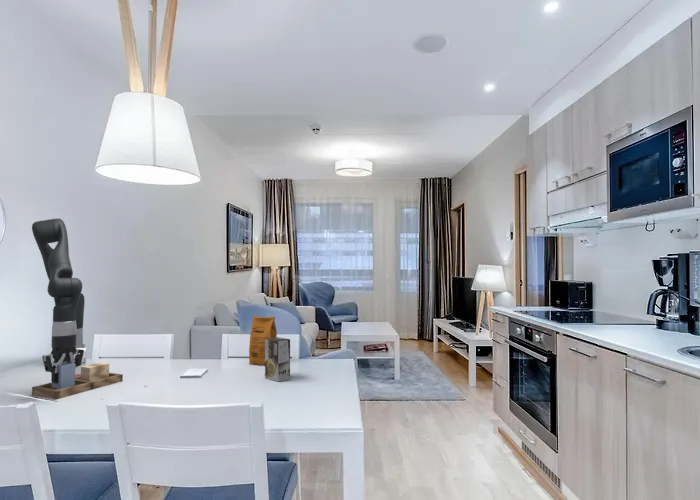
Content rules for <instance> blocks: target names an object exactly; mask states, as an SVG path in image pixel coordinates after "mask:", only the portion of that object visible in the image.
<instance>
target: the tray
mask: <svg viewBox="0 0 700 500" xmlns="http://www.w3.org/2000/svg"><path fill="white" fill-rule="evenodd" d="M123 376H124V375H123V374H121V373H115V372H109V377H108V378H104V379H100V380H96V381H92V382H90V381H84V380H81V376H77V377H75V386H71V387H67V388H63V389H57V388H52V381H50V382H47V383H44V384H39V385H35V386H31V395H32V396H31V398H36V399H41V400H47V401H50V402H51V401H52V402H56V403H57V402H58V400H59V399H63V398H67V397H71V396H74V395H78V394H82V393H85V392H89V391H93V390H96V389H100V388H103V387H107V386H110V385H114V384H117V383H122V382H123V378H124V377H123ZM52 399H54V400H52Z"/></svg>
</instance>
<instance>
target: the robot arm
mask: <svg viewBox="0 0 700 500" xmlns="http://www.w3.org/2000/svg"><path fill="white" fill-rule="evenodd" d="M31 230H32V234H33V235H32V236H33V237H34V240H35V243H36V245H37V247H38V249H39V252H40V255H41V259H42V260H43V266H44V269H45V272H46V276H47V278H48V285H47V293H48V295H49V296H50V297H51V298H53V301H54V307H53V309H52V326H51V349H52V350H51V352H50V353H49V354H47V355H46V354H45V355H42V357H41V358H42V364H43V367H44V371H45V372H46V373H50V374H51V375H50V377H51V379H50V382H53V383H55V384H56V383H58V375H59V373H57V372H58V370H59V366H61V365H62V363H64V362H66V363H75V368H76V367H78V366H80V365H81V362H82V357H83V353H84V350H82V349H76V348H86V344H85V343H83V342H84V341H83V340H84V335H83V334H84V314H85V300H86V299H85V295H84V294H83V293H82V290H83V283H82V280H81V279H80V278H78V277H73V276H74V272H73V271H74V270H73V267H72V262H71V259H70V254H69V252H70V250H69V249H70V247H69V238H68V237H69V236H68V231H67V227H66V224H65V222H64V220H63V219H62V218H51V219H44V220H39V221H34V222H33V223H32V225H31ZM53 243H56V245H55V247H54V248H52V247H51V245H50V244H53ZM74 354H75V359H74V357H73V356H74ZM55 366H56V367H55Z"/></svg>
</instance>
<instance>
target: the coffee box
mask: <svg viewBox="0 0 700 500" xmlns="http://www.w3.org/2000/svg"><path fill="white" fill-rule="evenodd" d="M264 378H265V379H267V380H270V381H275V382H277V383H279V382H283V381H287V380H290V379H291V339H289V338H285V337H278V336H277V337H274V338H269V339H265V365H264Z"/></svg>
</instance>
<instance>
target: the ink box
mask: <svg viewBox="0 0 700 500" xmlns="http://www.w3.org/2000/svg"><path fill="white" fill-rule="evenodd" d="M76 349H82V350H84V353H83V357H82V362H81V365H80V366H78V367H76V368H75V377H77V376H81V367H82V366H86V365H87V347H85V348H76ZM73 357H74V359H75V354H74V356H73Z"/></svg>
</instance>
